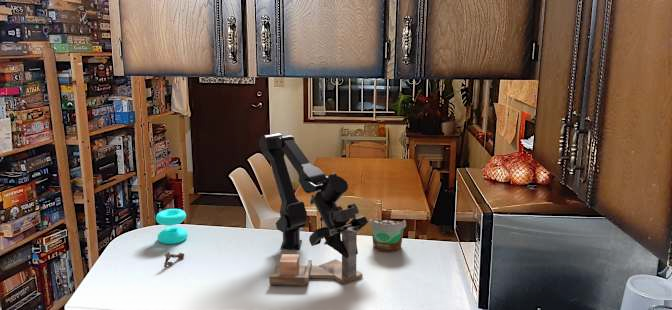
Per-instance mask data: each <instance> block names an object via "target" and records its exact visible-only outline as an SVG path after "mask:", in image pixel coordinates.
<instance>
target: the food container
mask: <svg viewBox="0 0 672 310" xmlns="http://www.w3.org/2000/svg"><path fill="white" fill-rule="evenodd" d="M368 224H369V226H370V227H371V237H372V245H373V248H374V250H376V251H378V252H382V253H394V252H397V251H399V250H400V249H401V248H402V244H403V237H404V229H405V228H406V227H407V221H406V219H404V220H402V221H395V220H392V219H381V220H379V219H373V218H370V219H369V221H368Z"/></svg>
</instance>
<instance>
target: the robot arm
mask: <svg viewBox="0 0 672 310" xmlns="http://www.w3.org/2000/svg"><path fill="white" fill-rule="evenodd" d="M295 140H296V139H295V137H294V136H293V135H291V134H286V135H283V134H281V133H280V132H277V133H271V134H270V133H269V134H264V135H261V137H260V139H259V141H258V147H259V148H260V151H261V153H262V156H263V157H265V158H266V159H267V160H268V161H269V163H270V166H271V170H272V174H273V177H274V181H275V184H276V187H277V191H278V194H279V197H280V201H281V205H280V209H279V215H280V217H279V218H278V219H277V221H276V223H275V226H276V230H277V231H280V232H281V233H282V241H281V242H282V243H281V245H280V249H282V250H289V249H290V250H300V249H301V247H302V246H301V245H302V243H303V239H301V238H300V237H301V236H300V231H301V230H300V229H302V228H305V227H306V226H307V225H306V224H307V220H308V212H307V211H308V210H306V206H305V203H304V201H299V200H298V199H297V196H296V194H295V189H294V187H293V182H292V180H291V177H290V173H289V170H288V167H287V163H286V160H285V157H286V158H287V159H288V160H289V162H290V163H291V165H292V167H293V168H294V169H295V171H296V172H297V174H298V183H299V184H300V186H301V188H302V191H304V192H305V194H312V193H315V194H312V195H311V197H310V202H309V203H310V205H311V206H312V205H314V206H315V207H316V209H317V211H318V213H319V215H320V218H319V221H320V222H323V223H324V225H325V226H324V227H321V228H317V229H315V230H314V231H313V232H312V233H311V234H310V235H309V239H308V240H309V243H310V245H311V247H315V246H317V245H319V244H321V242H322V240H323V239H324V242H323V245H328V247H330V248H332V249H333V250H335V251H336V252H338V253H339V254H340V255H341V256H342V255H343V256H344V257H345V258H348V257H349V255H348V252H347V250H346V248H345V246H344V244H343V243H342V231H343V230H346V229H349V228H350V229H352V230H355V231H357V232H359V231H361V230H362V228H364V227H366V225H367V224H369V221H368V219H367V217H366V216H365V215H359V216H356V215H357V214H359V213H360V212H359V208H358V206H357V205H356V203H354V202H353V203H351V204H348V205H347V208H344V209H343V207H342V206H338V205H337V203H336V202H338V201H339V200H340V199H341V198H342V197H343V195H345V193H346V192H347V191H348V189H349V183H348V182H347V180H345V179H344V178H343V177H342V176H339V175H337V173H335V172H333V173H331V174H329V175H328V176H327V175H326V174H325V173H324V171H323V170H321V169H320V168H319V167H317V166H315V165H313V164H312V163H311V162H310V161H309V159H308V157H307V156H306V154H304V153H303V150H302V149H301V148H300V147H299V146H298V144H297V143H296V141H295ZM358 252H359V250H358V249H357V252H356V256H357V255H358V254H359V253H358Z"/></svg>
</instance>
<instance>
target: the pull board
mask: <svg viewBox="0 0 672 310" xmlns="http://www.w3.org/2000/svg"><path fill="white" fill-rule="evenodd" d="M357 235H358V231H355V230H352V229H350V228H349V229H346V230H343V231H342V232H341V241H342V243H343V244H344V246H345V248H346V250H347V252H348V255H349V257H348V258H345V257H344V256H343V255H341V261H340V260H338V259H336V258H335V259H332V260H330V261H327V262H324V263H322V264H318V265H313V263H312V262H313V261H312V259H311V260H310V259H309V260H307V265H299V273H298V276H284V275H280V265H275V267H274V268H273V269H274V270H273V271H272V274H270V275H269V276H268V279H269V285H271V286H272V285H273V286H274V285H275V286H306V285H309V281H310V279H334V280H336V281H338V282H340V283H341V284H343V285H346V284H349V283H351V282H354V281H356V280H359V279H361V278H363V273H361V272H360V271H359V270H357V255H356V252H357V250H358V246H357V241H358V239H357V237H358V236H357Z"/></svg>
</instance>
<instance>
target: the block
mask: <svg viewBox="0 0 672 310" xmlns="http://www.w3.org/2000/svg"><path fill="white" fill-rule="evenodd" d="M279 266H280V275H284V276H298V273H299V266H300V254H298V253H297V254H295V253H293V254H292V253H291V254H289V253H286V254H285V253H282V254H281V256H280V260H279Z"/></svg>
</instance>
